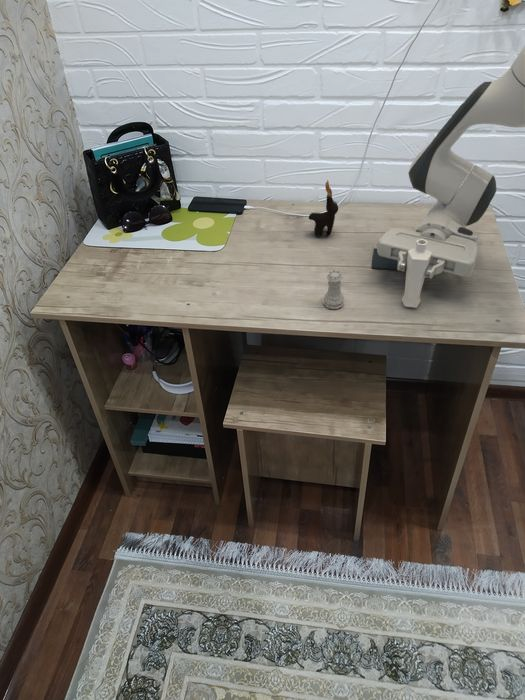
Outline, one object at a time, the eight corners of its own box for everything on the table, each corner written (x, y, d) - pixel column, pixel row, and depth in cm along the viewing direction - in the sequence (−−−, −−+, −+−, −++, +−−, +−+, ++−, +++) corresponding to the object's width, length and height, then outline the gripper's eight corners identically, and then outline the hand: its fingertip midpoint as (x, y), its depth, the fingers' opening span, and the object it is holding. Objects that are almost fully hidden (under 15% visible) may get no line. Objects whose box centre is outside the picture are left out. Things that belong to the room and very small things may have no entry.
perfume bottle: (408, 311, 119) (419, 251, 108) (396, 299, 122) (406, 239, 111) (426, 305, 120) (439, 244, 110) (414, 293, 123) (425, 233, 113)
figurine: (336, 245, 140) (338, 188, 130) (307, 244, 141) (307, 188, 131) (338, 222, 147) (341, 167, 137) (311, 221, 148) (311, 167, 138)
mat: (416, 252, 135) (416, 251, 135) (415, 272, 130) (416, 270, 129) (373, 249, 137) (373, 248, 137) (371, 269, 132) (371, 267, 131)
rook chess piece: (343, 311, 121) (345, 280, 116) (322, 309, 122) (323, 279, 116) (344, 298, 124) (346, 267, 119) (324, 296, 125) (325, 266, 120)
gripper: (391, 214, 125) (366, 246, 117) (486, 235, 117) (468, 270, 108) (388, 239, 129) (365, 272, 121) (480, 261, 121) (462, 297, 113)
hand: (414, 271), depth 115 cm, fingers closed on perfume bottle, 4 cm apart
